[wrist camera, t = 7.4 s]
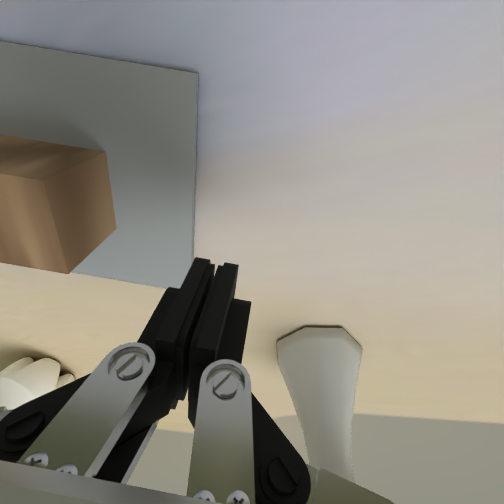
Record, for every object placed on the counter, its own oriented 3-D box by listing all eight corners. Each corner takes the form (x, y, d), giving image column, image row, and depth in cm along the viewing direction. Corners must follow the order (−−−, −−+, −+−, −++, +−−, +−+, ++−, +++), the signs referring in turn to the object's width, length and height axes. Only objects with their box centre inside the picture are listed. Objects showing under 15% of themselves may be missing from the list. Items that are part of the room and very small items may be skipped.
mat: (198, 73, 14) (195, 73, 14) (192, 287, 22) (190, 292, 21) (-153, 15, 15) (-169, 14, 14) (-38, 247, 22) (-45, 252, 22)
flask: (291, 384, 27) (293, 524, 19) (262, 333, 24) (249, 476, 16) (370, 372, 25) (412, 523, 17) (351, 314, 22) (391, 468, 13)
